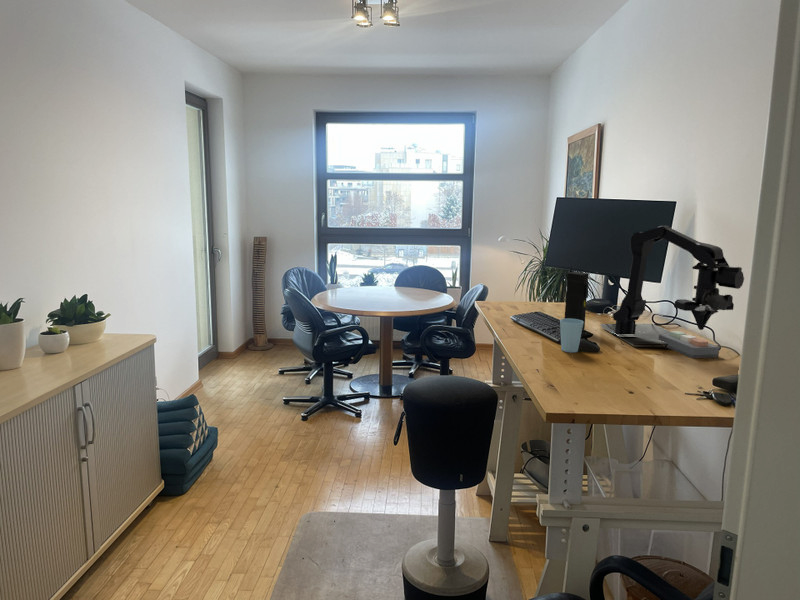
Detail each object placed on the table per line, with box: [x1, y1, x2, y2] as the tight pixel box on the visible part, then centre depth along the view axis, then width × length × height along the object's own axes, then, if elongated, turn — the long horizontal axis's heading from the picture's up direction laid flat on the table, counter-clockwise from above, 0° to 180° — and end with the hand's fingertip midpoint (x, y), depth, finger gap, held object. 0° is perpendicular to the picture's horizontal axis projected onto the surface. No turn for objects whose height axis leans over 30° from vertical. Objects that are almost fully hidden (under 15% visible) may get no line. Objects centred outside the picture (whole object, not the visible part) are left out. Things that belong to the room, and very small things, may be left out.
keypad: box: [658, 333, 720, 359], centre depth 201 cm, size 10×18×4 cm, turn 12°
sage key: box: [669, 330, 687, 338], centre depth 206 cm, size 4×4×2 cm
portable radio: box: [563, 265, 590, 331], centre depth 226 cm, size 8×6×25 cm
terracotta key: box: [691, 338, 709, 347], centre depth 196 cm, size 4×4×2 cm
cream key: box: [680, 334, 698, 342], centre depth 201 cm, size 4×4×2 cm
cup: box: [559, 318, 584, 353], centre depth 197 cm, size 8×8×10 cm
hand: (700, 329), depth 195 cm, fingers closed
